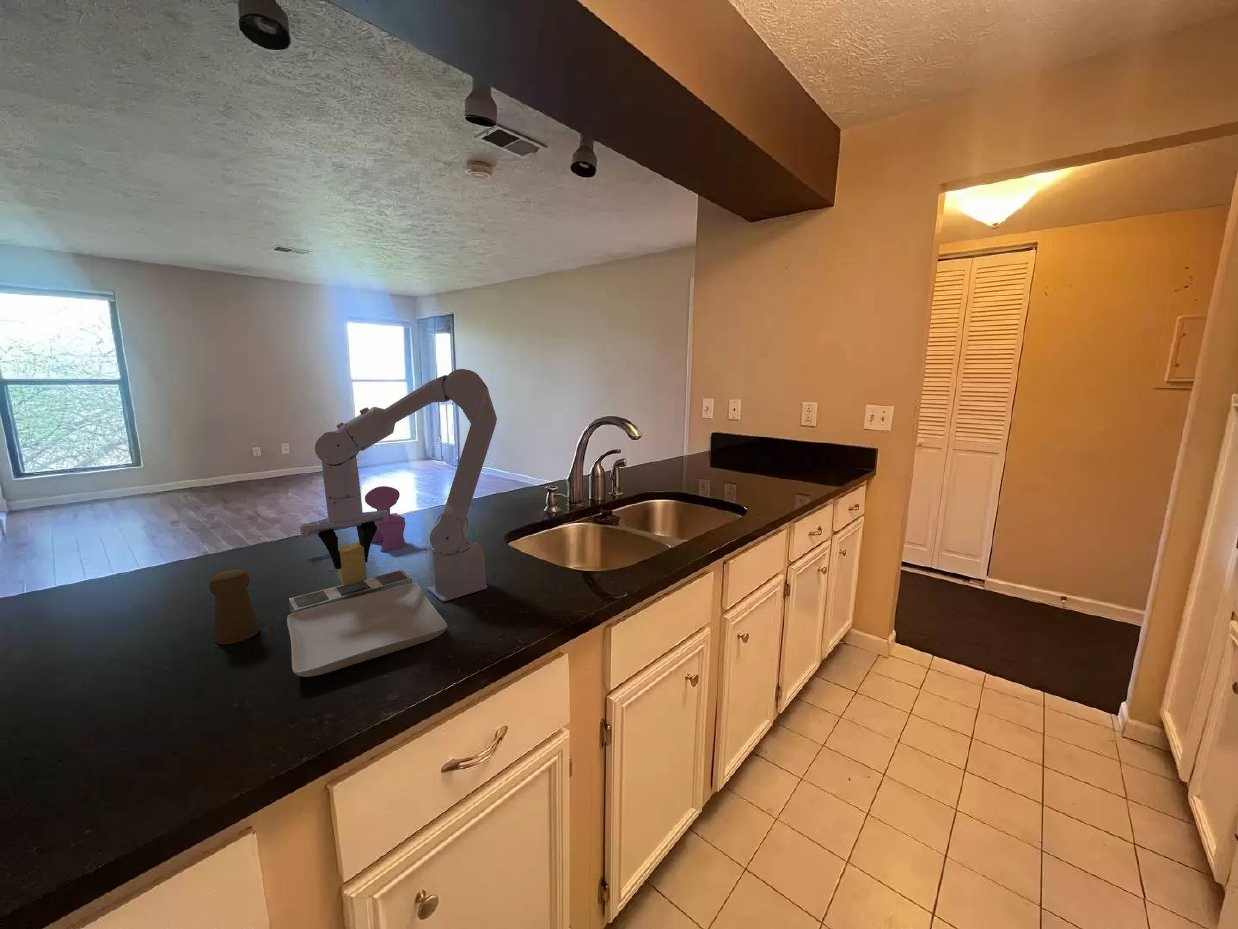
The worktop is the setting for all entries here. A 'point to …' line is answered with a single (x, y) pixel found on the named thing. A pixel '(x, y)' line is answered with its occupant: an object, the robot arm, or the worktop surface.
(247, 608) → the cork
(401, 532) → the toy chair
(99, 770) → the worktop surface
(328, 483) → the robot arm
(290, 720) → the worktop surface
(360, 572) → the yellow rectangular block
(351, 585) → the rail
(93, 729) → the worktop surface
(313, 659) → the salad plate
